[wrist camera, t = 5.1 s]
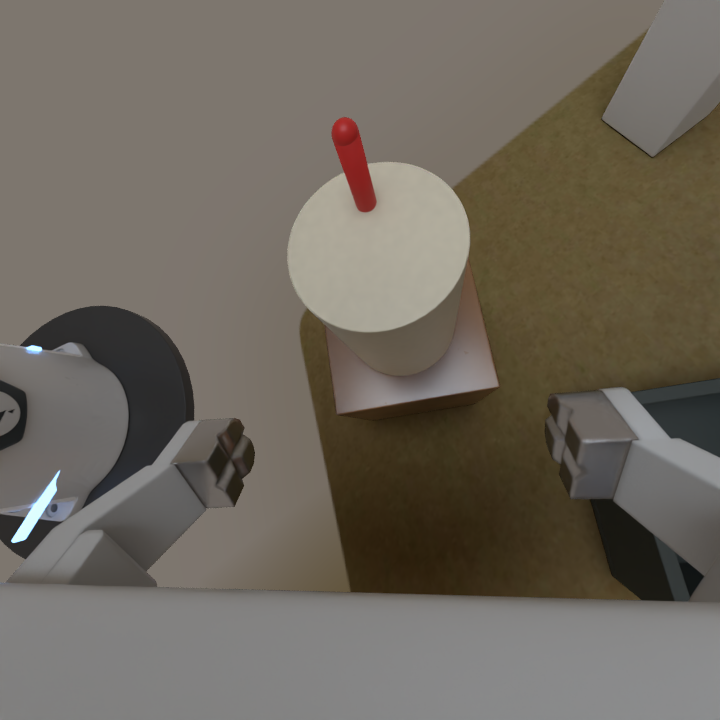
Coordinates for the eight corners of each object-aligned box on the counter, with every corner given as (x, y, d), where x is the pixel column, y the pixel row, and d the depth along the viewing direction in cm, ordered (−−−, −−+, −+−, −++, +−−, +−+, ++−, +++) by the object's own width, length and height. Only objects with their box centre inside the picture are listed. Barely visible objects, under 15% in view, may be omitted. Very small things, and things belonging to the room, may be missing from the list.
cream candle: (357, 384, 20) (244, 319, 8) (343, 288, 21) (227, 111, 9) (465, 365, 19) (515, 256, 7) (442, 264, 20) (452, 33, 8)
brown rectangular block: (372, 420, 31) (335, 415, 20) (358, 326, 33) (316, 271, 22) (475, 403, 30) (500, 387, 18) (453, 306, 32) (463, 235, 20)
